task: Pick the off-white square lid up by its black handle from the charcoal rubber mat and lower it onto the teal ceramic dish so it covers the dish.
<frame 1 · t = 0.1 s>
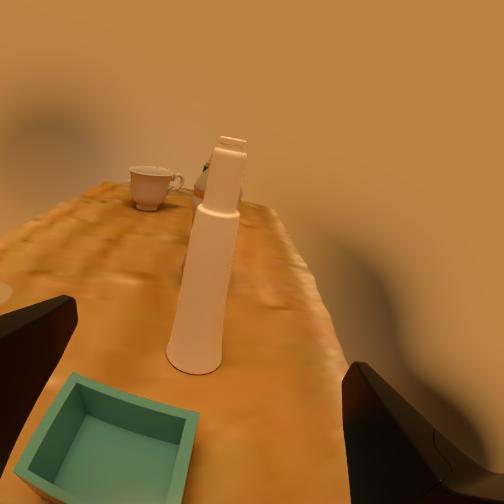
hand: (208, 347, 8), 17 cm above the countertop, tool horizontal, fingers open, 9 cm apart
plastic bottle: (201, 286, 44), on the countertop
teacup: (152, 208, 72), on the countertop
dish: (118, 475, 15), on the countertop
cosmetic bottle: (193, 356, 30), on the countertop
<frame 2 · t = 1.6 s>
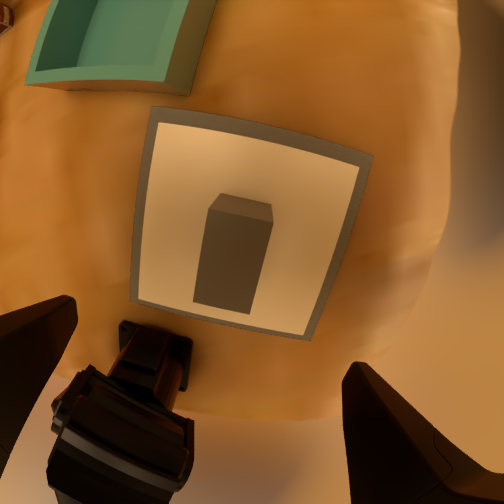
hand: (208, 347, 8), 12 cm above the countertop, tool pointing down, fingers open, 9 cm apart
dish: (139, 26, 14), on the countertop
mat: (239, 229, 19), on the countertop
lid: (238, 234, 18), point 1 cm above the countertop, touching mat
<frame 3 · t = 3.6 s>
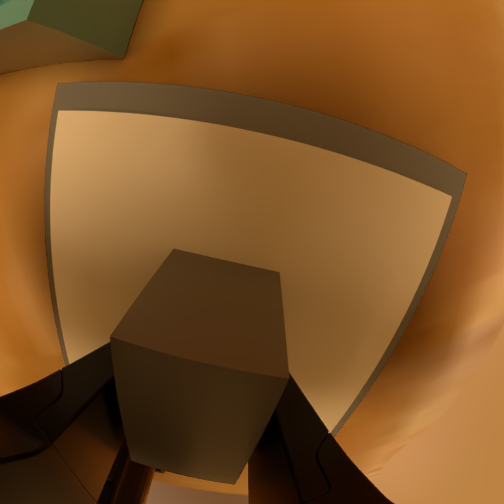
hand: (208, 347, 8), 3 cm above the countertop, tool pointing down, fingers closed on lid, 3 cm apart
mat: (220, 301, 11), on the countertop
lid: (215, 317, 10), point 1 cm above the countertop, touching gripper, mat
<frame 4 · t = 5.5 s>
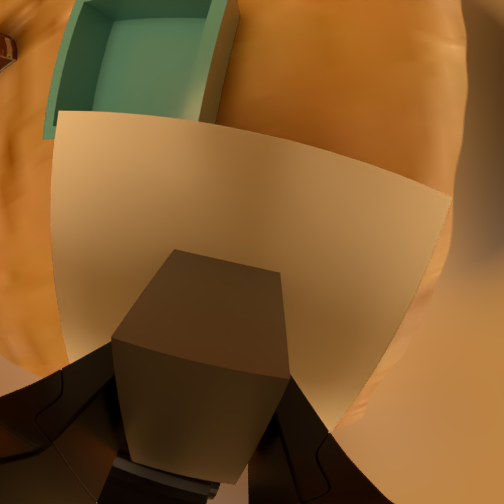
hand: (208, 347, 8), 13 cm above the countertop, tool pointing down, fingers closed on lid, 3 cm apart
dish: (154, 71, 16), on the countertop
lid: (216, 317, 10), point 11 cm above the countertop, touching gripper
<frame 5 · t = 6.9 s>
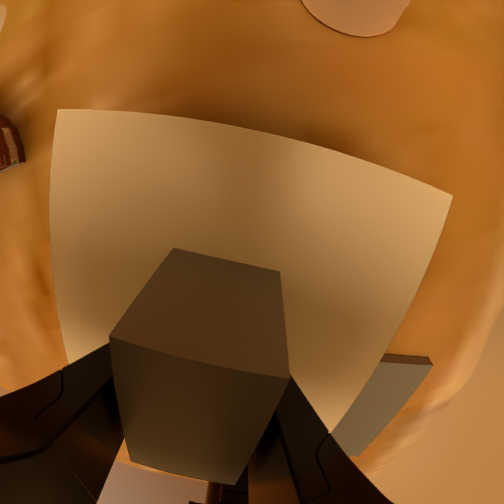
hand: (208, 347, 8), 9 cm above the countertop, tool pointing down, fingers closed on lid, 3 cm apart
mat: (322, 409, 22), on the countertop
lid: (215, 316, 10), point 7 cm above the countertop, touching gripper
when the fingers open (8 cm above the countertop, at t = 7.6 s): lid drops 2 cm, resting on dish.
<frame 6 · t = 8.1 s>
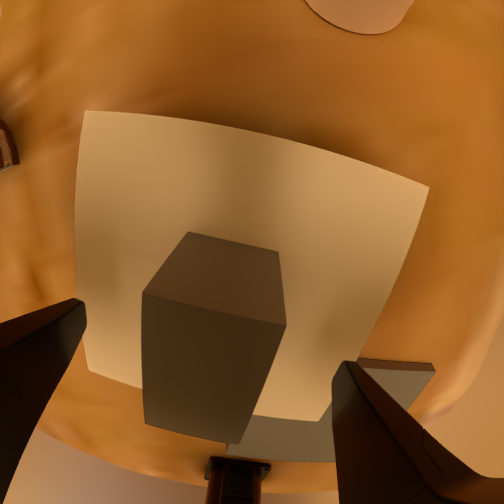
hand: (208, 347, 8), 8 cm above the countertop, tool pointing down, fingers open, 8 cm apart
mat: (323, 416, 21), on the countertop
lid: (222, 294, 11), point 5 cm above the countertop, touching dish
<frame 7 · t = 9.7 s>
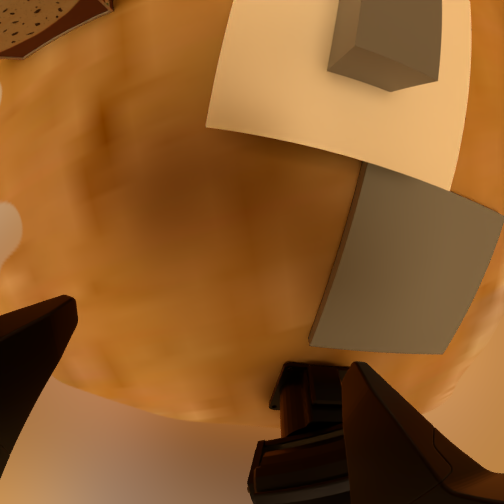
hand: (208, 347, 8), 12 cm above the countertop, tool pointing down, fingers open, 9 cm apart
mat: (415, 275, 20), on the countertop
lid: (361, 39, 10), point 5 cm above the countertop, touching dish
food container: (65, 7, 12), on the countertop
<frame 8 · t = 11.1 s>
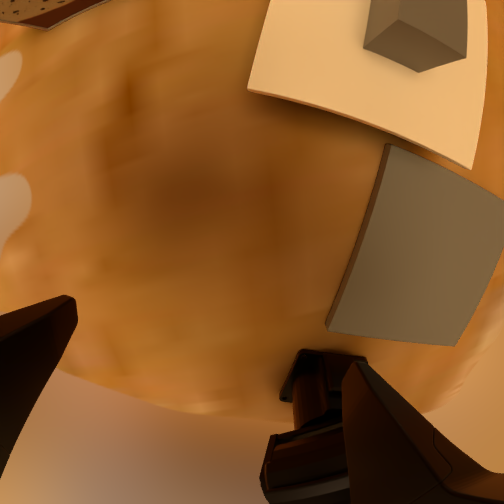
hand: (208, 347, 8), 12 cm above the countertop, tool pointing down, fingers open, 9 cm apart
mat: (432, 261, 20), on the countertop
lid: (391, 25, 10), point 5 cm above the countertop, touching dish
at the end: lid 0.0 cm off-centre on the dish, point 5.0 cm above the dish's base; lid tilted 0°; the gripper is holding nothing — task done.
